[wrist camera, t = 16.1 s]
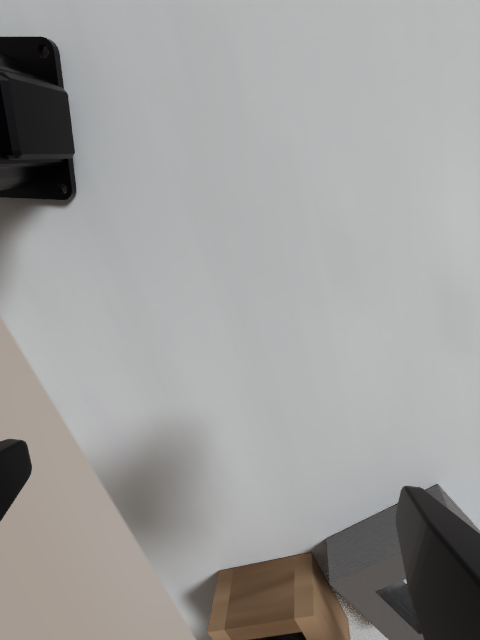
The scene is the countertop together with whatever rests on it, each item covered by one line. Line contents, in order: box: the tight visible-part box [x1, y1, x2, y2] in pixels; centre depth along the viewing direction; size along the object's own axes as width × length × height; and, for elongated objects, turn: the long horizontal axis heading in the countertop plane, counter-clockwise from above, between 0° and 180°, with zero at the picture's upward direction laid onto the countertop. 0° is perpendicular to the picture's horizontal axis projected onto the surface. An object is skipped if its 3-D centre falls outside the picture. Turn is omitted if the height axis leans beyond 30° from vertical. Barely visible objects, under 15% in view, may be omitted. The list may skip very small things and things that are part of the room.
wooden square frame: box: [207, 552, 350, 640], centre depth 27 cm, size 7×7×4 cm
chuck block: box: [326, 484, 480, 640], centre depth 24 cm, size 8×8×3 cm
